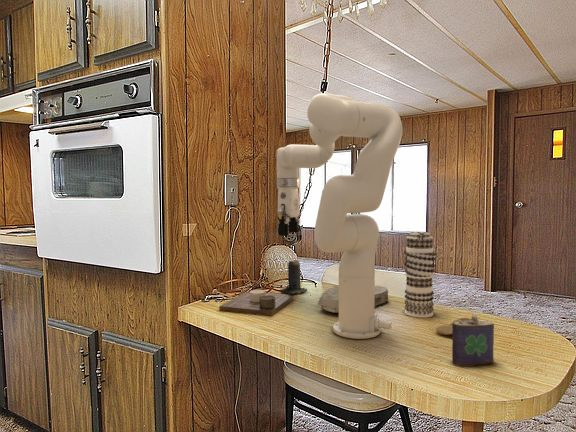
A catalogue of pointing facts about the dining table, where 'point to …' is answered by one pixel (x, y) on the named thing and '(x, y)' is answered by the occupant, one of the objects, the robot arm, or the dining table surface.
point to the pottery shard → (449, 327)
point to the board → (254, 304)
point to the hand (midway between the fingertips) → (288, 233)
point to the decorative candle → (419, 274)
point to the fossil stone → (331, 298)
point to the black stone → (267, 302)
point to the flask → (472, 342)
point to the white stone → (256, 295)
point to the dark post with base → (294, 278)
